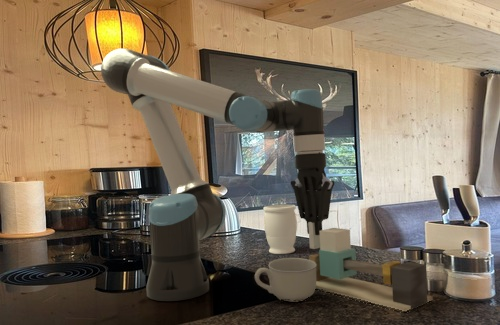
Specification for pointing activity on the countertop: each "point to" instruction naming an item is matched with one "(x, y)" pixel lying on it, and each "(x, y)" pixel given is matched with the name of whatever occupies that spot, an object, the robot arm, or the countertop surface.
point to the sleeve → (335, 253)
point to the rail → (394, 273)
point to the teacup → (290, 278)
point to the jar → (280, 228)
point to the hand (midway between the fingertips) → (315, 247)
